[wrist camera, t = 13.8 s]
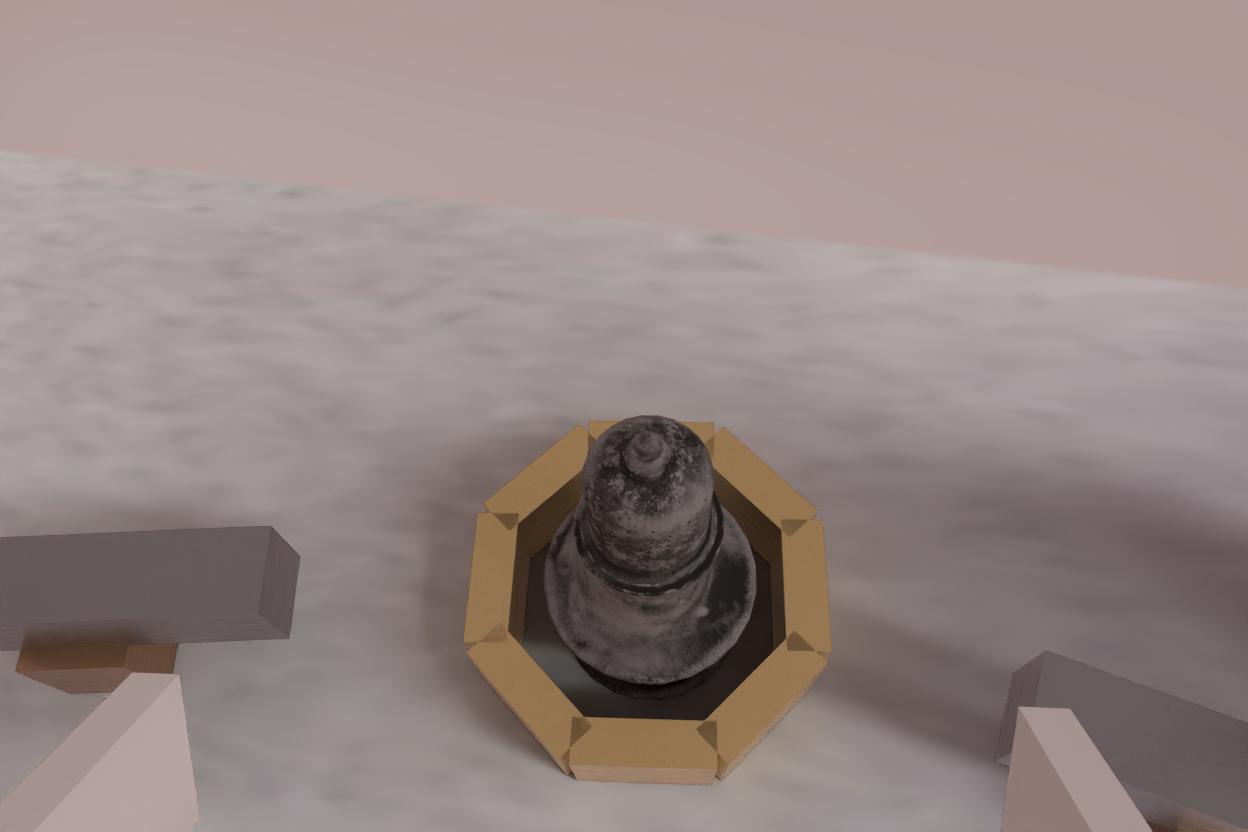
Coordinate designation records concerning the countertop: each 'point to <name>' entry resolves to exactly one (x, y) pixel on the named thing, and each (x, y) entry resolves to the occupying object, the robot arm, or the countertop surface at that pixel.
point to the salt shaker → (649, 564)
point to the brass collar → (649, 746)
